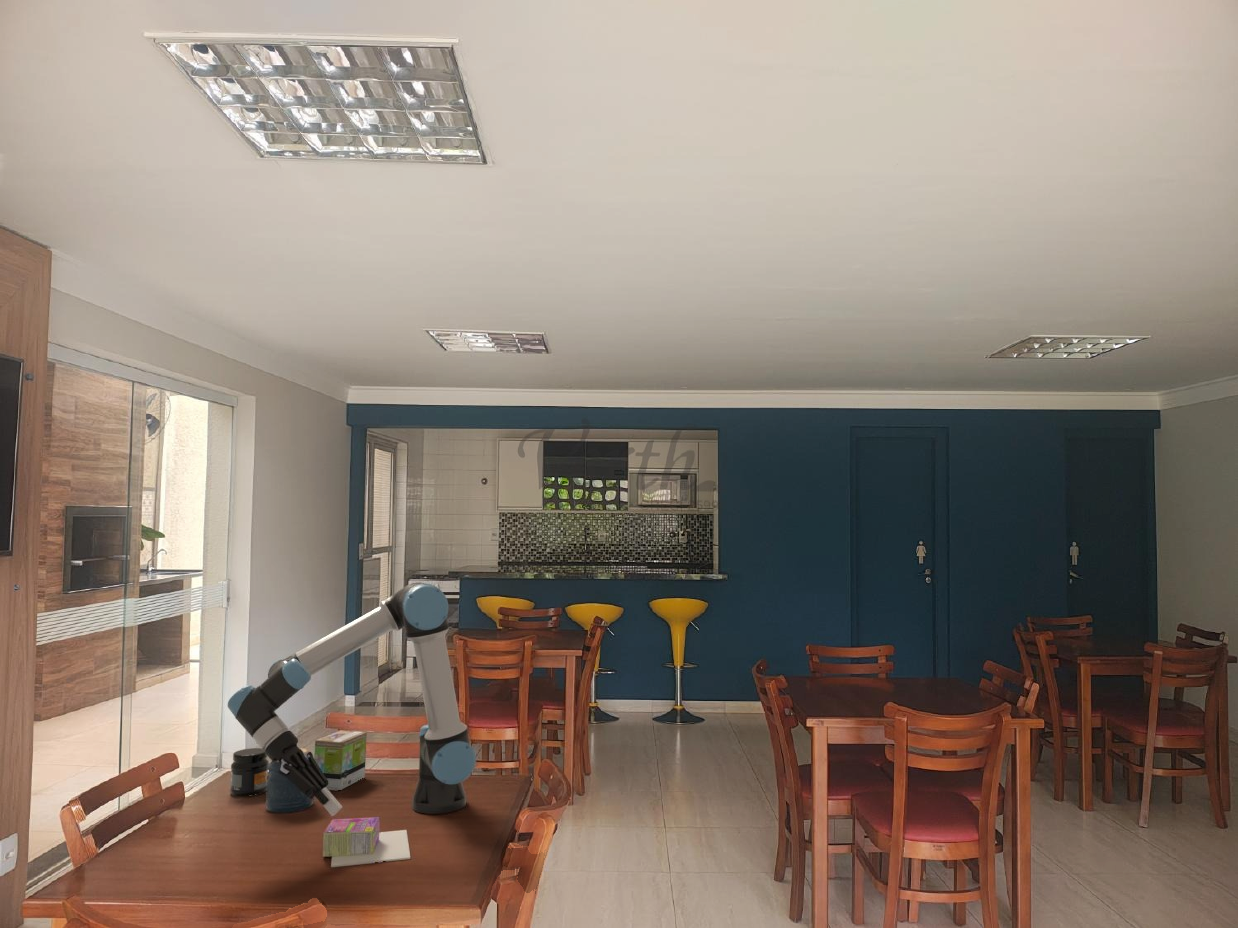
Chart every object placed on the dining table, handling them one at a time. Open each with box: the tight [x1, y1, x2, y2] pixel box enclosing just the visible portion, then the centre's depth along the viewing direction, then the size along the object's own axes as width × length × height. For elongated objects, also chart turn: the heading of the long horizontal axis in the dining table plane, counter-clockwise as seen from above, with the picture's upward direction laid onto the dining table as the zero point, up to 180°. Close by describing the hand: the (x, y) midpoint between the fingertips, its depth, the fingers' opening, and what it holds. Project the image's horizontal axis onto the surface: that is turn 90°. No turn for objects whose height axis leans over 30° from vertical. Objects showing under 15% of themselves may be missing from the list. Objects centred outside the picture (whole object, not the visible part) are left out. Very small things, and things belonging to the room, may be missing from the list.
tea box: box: [313, 730, 368, 791], centre depth 266 cm, size 15×10×15 cm
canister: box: [265, 747, 315, 814], centre depth 244 cm, size 13×13×18 cm
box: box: [322, 816, 381, 858], centre depth 209 cm, size 10×6×12 cm
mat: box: [330, 829, 411, 868], centre depth 210 cm, size 18×20×1 cm
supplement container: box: [229, 747, 270, 797], centre depth 257 cm, size 10×10×12 cm
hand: (337, 811), depth 208 cm, fingers closed
